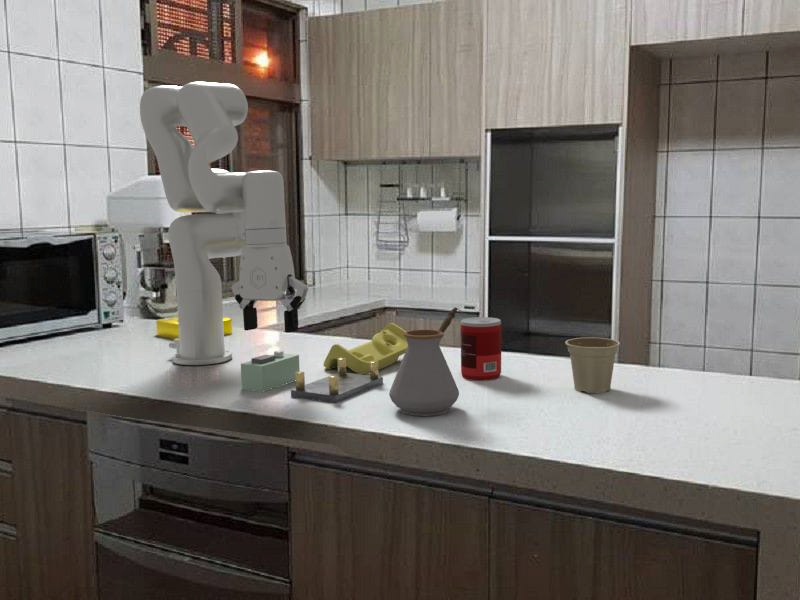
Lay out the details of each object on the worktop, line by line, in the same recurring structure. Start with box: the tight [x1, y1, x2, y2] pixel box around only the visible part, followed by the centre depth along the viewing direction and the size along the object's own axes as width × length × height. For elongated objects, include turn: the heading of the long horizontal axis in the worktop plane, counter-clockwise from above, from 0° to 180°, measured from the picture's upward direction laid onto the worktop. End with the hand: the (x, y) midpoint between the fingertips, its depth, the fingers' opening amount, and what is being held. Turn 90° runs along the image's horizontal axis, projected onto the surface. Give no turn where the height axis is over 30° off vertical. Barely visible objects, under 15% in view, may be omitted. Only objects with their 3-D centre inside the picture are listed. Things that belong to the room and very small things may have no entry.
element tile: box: [155, 316, 233, 340], centre depth 206 cm, size 15×15×5 cm
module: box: [240, 350, 301, 393], centre depth 149 cm, size 5×11×6 cm, turn 150°
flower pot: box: [564, 336, 621, 394], centre depth 140 cm, size 9×9×9 cm
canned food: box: [460, 316, 502, 382], centre depth 152 cm, size 8×8×11 cm
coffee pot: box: [389, 306, 463, 417], centre depth 133 cm, size 21×12×15 cm, turn 155°
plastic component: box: [323, 322, 408, 375], centre depth 165 cm, size 20×7×10 cm
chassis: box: [290, 358, 384, 404], centre depth 144 cm, size 10×16×4 cm, turn 150°
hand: (271, 330), depth 147 cm, fingers open, 9 cm apart
